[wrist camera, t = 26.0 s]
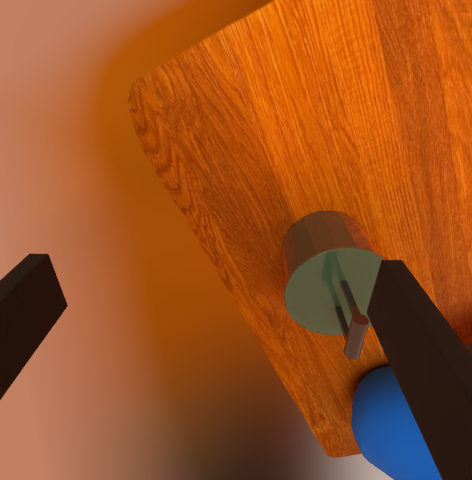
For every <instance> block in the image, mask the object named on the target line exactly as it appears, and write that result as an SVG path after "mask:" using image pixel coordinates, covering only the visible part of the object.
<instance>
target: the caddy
mask: <svg viewBox="0 0 472 480" xmlns="http://www.w3.org/2000/svg"><path fill="white" fill-rule="evenodd" d="M338 246H358V247H363V248H367V249H370V250H373V251H375V252H377V253H378V251H377V250H376V248H375V247H374V245H373V243H372V242H371V240H370V239H369V237H368V236H367V234H366V233H365V231H364V230H363V228H362V227H361V226H360V225H359V224H358V222H356V221H355V220H354V219H353V218H351V217H350V216H348V215H346V214H343V213H340V212H336V211H321V212H316V213H312V214H309V215H307V216H305V217H303V218H301V219H300V220H298V221H297V222H296V223H295V224H294V225H293V226H292V227H291V228H290V229H289V231H288V232H287V234H286V236H285V238H284V241H283V245H282V259H283V266H284V272H285V279H286V282H287V279H288V278H289V276H290V274H291V273H292V271H293V270H294V269H295V268H296V267H297V265H298V264H300V263H301V262H302V261H303V260H304V259H306V258H308V257H309V256H311V255H313V254H315V253H317V252H319V251H322V250H324V249H328V248H332V247H338Z"/></svg>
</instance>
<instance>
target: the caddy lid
mask: <svg viewBox="0 0 472 480" xmlns="http://www.w3.org/2000/svg"><path fill="white" fill-rule="evenodd" d="M381 260H387V259H386V258H384V257H383V256H382V255H380V254H379V253H377V252H375V251H373V250H370V249H367V248H363V247H358V246H338V247H332V248H328V249H324V250H322V251H319V252H317V253H315V254H313V255H311V256H309V257H308V258H306V259H304V260H303V261H302V262H301V263H300V264H298V265H297V267H296V268H295V269H294V270H293V271H292V273H291V274H290V276H289V278H288V279H287V282H286V285H285V289H284V300H285V305H286V308H287V311H288V312H289V314H290V316H291V317H292V318H293V319H294V320H295V321H296V322H297V323H298V324H299V325H301V326H302V327H304V328H306V329H308V330H310V331H313V332H316V333H320V334H325V335H343V336H344V339H345V342H346V343H345V347H344V354H345V356H346V357H348V358H350V359H357V358H359V356H360V352H361V349H362V345H363V342H364V338H365V335H366V332H367V328H368V327H370V326H372V324H371V322H370V319H369V317H368V315H367V313H366V312H367V309H368V305H369V302H370V298H371V295H372V292H373V288H374V285H375V281H376V278H377V274H378V271H379V267H380V264H381Z"/></svg>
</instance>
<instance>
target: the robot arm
mask: <svg viewBox="0 0 472 480" xmlns="http://www.w3.org/2000/svg"><path fill="white" fill-rule="evenodd" d="M67 306H68V305H67V303H66V300H65V297H64V295H63V292H62V289H61V287H60V284H59V281H58V279H57V276H56V273H55V271H54V268H53V266H52V263H51V260H50V257H49V255H48V254H29V255H28V256H27V257H25V258H24V259H23V260H22V261H21V262H20V263H19V264H18V265H17V266H16V267H14V268H13V269H12V270H11V271H10V272H9V273H8V274H7V275H6V276H5V277H4V278H3V279H1V280H0V400H1V398H2V397H3V395H4V394H5V393H6V391H7V390H8V388H9V387H10V386H11V384H12V383H13V381H14V380H15V379H16V377H17V376H18V374H19V373H20V372H21V370H22V369H23V367H24V366H25V365H26V363H27V362H28V360H29V359H30V358H31V356H32V355H33V353H34V352H35V351H36V349H37V348H38V347H39V345H40V344H41V342H42V341H43V340H44V338H45V337H46V335H47V334H48V332H49V331H50V330H51V328H52V327H53V326H54V324H55V323H56V321H57V320H58V319H59V317H60V316H61V314H62V313H63V312H64V310H65V309H66V307H67ZM366 313H367V315H368V317H369V319H370V322H371V324H372V326H373V328H374V330H375V333H376V335H377V337H378V339H379V341H380V344H381V346H382V348H383V350H384V352H385V355H386V357H387V359H388V361H389V363H390V366H391V368H392V370H393V372H394V374H395V377H396V379H397V381H398V383H399V385H400V388H401V390H402V392H403V394H404V397H405V399H406V401H407V403H408V405H409V408H410V410H411V412H412V414H413V416H414V419H415V421H416V423H417V425H418V427H419V430H420V432H421V434H422V436H423V438H424V441H425V443H426V445H427V447H428V449H429V452H430V454H431V456H432V458H433V460H434V463H435V465H436V467H437V469H438V471H439V474H440V476H441V478H442V480H472V344H463V342H462V341H461V340H460V338H459V337H458V336H457V334H456V333H455V332H454V330H453V329H452V328H451V326H450V325H449V323H448V322H447V321H446V319H445V318H444V317H443V315H442V314H441V313H440V311H439V310H438V309H437V307H436V306H435V305H434V303H433V302H432V300H431V299H430V298H429V296H428V295H427V294H426V292H425V291H424V290H423V288H422V287H421V286H420V284H419V283H418V282H417V280H416V279H415V277H414V276H413V275H412V273H411V272H410V271H409V269H408V268H407V267H406V265H405V264H404V263H403V261H402V260H381V264H380V267H379V271H378V274H377V278H376V281H375V285H374V288H373V292H372V295H371V298H370V302H369V305H368V309H367V312H366Z"/></svg>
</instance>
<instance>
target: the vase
mask: <svg viewBox="0 0 472 480" xmlns="http://www.w3.org/2000/svg"><path fill="white" fill-rule="evenodd" d="M351 425H352V429H353V433H354V437H355V439H356V442H357V444H358V446H359V448H360V450H361V452H362V454H363V456H364V457H365V458H366V459H367V460H368V461H369V462H370V463H371V464H373V465H374V466H376V467H377V468H379V469H380V470H381V471H383V472H384V473H386V474H387V475H388V476H390V477H391V478H393V479H394V480H442V478H441V476H440V474H439V471H438V469H437V467H436V465H435V463H434V460H433V458H432V456H431V454H430V452H429V449H428V447H427V445H426V443H425V441H424V438H423V436H422V434H421V432H420V430H419V427H418V425H417V423H416V421H415V419H414V416H413V414H412V412H411V410H410V408H409V405H408V403H407V401H406V399H405V397H404V394H403V392H402V390H401V388H400V385H399V383H398V381H397V379H396V377H395V374H394V372H393V370H392V368H391V366H384V367H380V368H377V369H374V370H373V371H371V372H369V373H368V374H367V375H366V376H365V377H364V378H363V379H362V380H361V382H360V383H359V385H358V387H357V389H356V392H355V394H354V397H353V404H352V420H351Z"/></svg>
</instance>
